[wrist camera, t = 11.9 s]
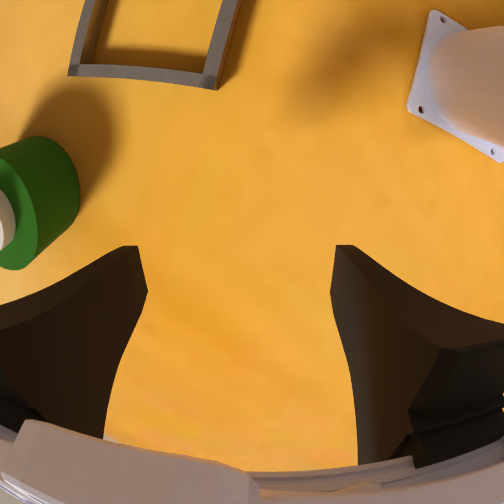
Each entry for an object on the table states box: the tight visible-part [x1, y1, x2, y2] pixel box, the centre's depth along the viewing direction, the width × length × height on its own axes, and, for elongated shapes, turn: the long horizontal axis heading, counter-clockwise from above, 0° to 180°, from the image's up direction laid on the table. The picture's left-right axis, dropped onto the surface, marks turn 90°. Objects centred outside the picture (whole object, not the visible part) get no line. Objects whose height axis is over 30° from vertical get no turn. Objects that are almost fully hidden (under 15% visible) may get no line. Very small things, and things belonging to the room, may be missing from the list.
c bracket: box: [68, 0, 242, 90], centre depth 13 cm, size 10×10×2 cm
